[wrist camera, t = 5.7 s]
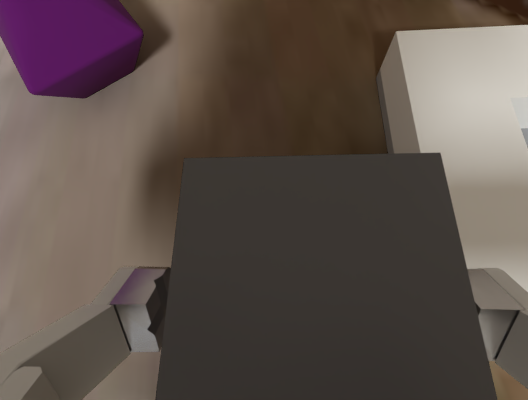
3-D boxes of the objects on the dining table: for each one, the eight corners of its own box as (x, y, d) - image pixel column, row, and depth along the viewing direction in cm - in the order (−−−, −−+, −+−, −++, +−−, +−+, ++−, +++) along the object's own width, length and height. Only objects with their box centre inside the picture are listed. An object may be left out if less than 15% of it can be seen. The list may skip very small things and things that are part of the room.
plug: (247, 343, 14) (146, 472, 4) (250, 253, 15) (183, 158, 5) (339, 345, 14) (518, 490, 3) (332, 252, 15) (440, 152, 5)
